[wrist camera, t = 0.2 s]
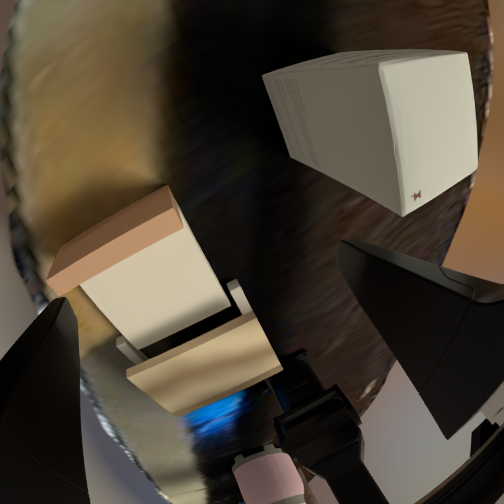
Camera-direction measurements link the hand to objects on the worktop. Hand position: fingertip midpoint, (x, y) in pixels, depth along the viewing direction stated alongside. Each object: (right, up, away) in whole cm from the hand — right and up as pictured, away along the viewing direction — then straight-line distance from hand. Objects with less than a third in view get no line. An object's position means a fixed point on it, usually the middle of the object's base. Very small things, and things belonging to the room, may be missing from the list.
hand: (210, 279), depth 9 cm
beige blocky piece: (-7, -1, +15) cm, 17 cm away
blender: (+3, -43, +44) cm, 62 cm away
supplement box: (+6, +13, +12) cm, 19 cm away
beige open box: (-5, -8, +20) cm, 22 cm away
